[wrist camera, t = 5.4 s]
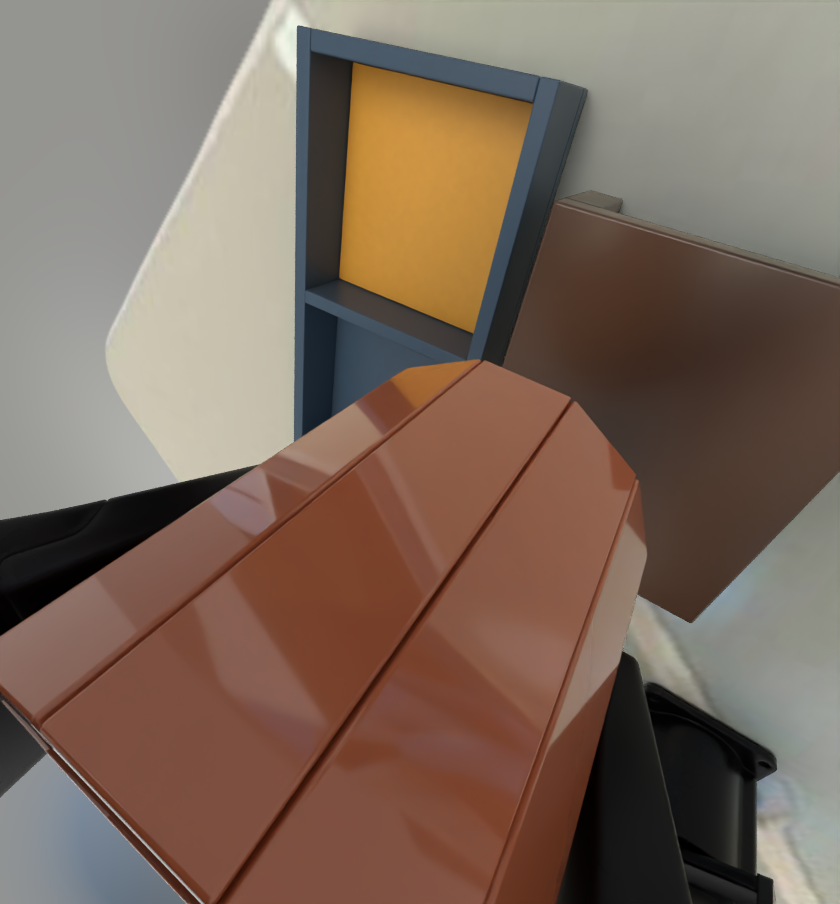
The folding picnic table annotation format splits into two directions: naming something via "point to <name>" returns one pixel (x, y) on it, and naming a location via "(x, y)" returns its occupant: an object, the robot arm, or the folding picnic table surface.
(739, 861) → the robot arm
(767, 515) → the brown low table
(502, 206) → the blue divided tray
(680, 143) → the folding picnic table surface
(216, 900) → the cup
